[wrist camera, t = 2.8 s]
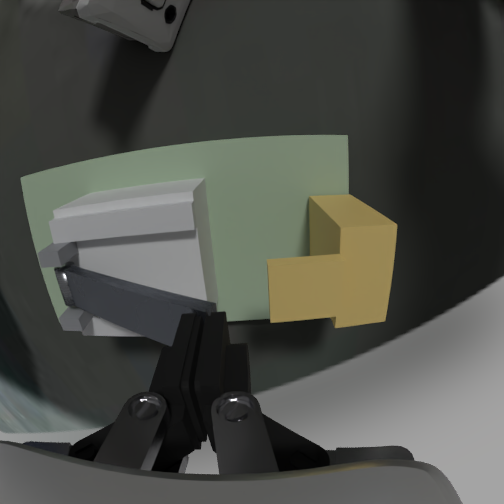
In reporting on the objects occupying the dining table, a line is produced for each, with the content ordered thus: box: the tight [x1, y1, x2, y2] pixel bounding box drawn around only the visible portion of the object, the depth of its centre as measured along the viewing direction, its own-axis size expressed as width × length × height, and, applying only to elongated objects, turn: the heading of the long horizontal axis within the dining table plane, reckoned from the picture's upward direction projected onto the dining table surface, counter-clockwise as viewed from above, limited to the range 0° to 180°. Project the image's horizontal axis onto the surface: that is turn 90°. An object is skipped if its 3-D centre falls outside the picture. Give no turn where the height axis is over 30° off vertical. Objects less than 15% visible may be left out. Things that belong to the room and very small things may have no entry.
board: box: [21, 135, 349, 336], centre depth 19 cm, size 26×14×9 cm, turn 94°
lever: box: [54, 262, 217, 346], centre depth 14 cm, size 12×2×1 cm, turn 94°
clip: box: [267, 194, 397, 328], centre depth 18 cm, size 6×6×8 cm
